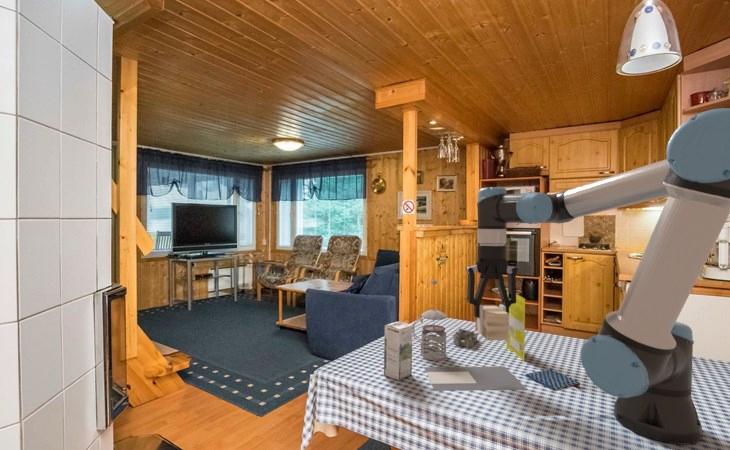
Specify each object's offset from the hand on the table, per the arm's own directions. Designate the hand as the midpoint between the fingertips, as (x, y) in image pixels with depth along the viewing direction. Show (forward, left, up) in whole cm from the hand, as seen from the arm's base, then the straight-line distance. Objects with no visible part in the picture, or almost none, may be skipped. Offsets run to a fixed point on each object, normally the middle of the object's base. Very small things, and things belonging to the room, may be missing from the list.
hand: (491, 329), depth 105 cm
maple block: (0, 0, -2) cm, 2 cm away
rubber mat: (0, +5, -14) cm, 15 cm away
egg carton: (+32, -2, -15) cm, 35 cm away
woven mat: (-2, -16, -15) cm, 22 cm away
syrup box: (+4, +25, -15) cm, 29 cm away
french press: (+17, +13, -15) cm, 26 cm away
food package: (+19, -15, -15) cm, 28 cm away
